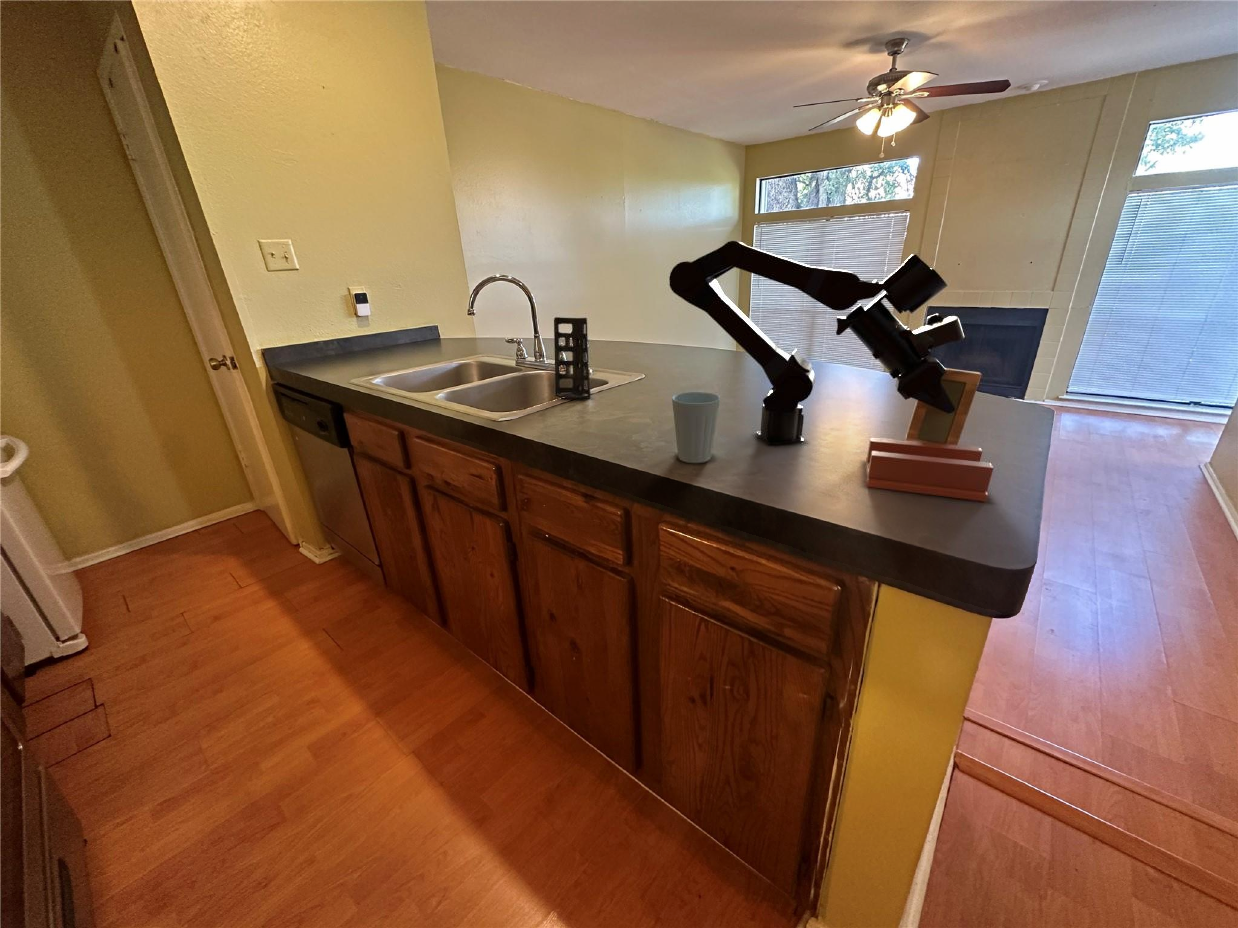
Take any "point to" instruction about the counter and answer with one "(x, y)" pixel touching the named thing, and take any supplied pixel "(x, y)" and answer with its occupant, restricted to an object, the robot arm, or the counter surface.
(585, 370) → the holder
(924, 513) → the counter surface
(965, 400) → the frame
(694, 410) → the cup
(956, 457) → the slot stand
